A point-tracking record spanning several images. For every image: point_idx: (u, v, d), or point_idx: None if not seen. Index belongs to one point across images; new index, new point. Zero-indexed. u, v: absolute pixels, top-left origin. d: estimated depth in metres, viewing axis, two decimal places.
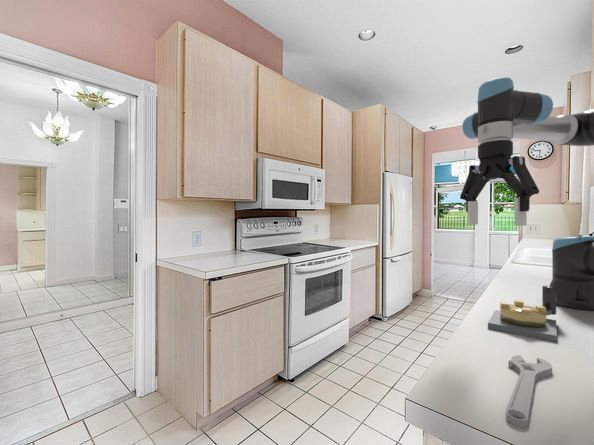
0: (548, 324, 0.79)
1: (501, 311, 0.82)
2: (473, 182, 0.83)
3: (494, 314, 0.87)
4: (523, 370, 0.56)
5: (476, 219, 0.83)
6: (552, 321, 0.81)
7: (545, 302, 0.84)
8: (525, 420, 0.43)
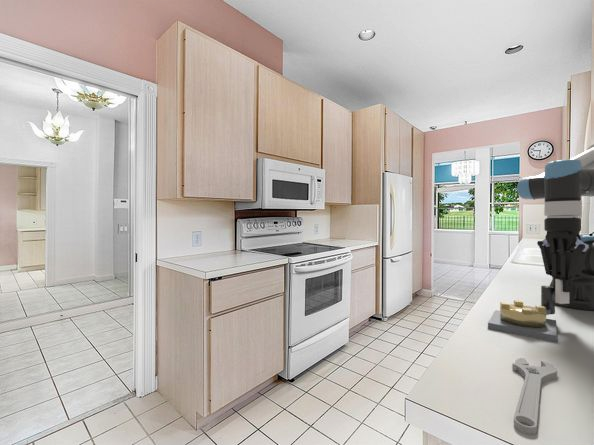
0: (548, 324, 0.79)
1: (502, 311, 0.82)
2: None
3: (494, 314, 0.87)
4: (528, 374, 0.55)
5: None
6: (552, 321, 0.81)
7: (544, 302, 0.84)
8: (534, 427, 0.41)
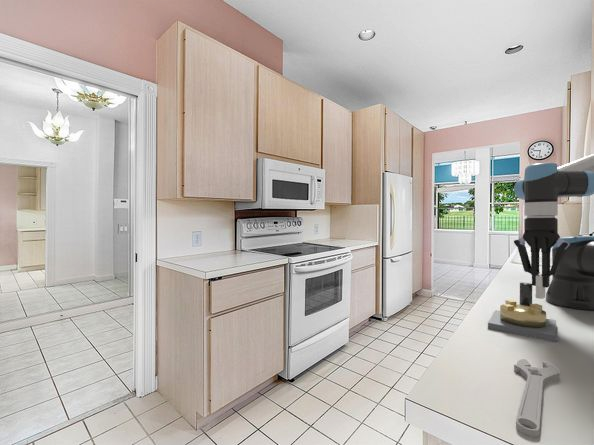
0: (548, 324, 0.79)
1: (509, 314, 0.79)
2: None
3: (494, 314, 0.87)
4: (530, 375, 0.54)
5: None
6: (552, 321, 0.81)
7: (525, 298, 0.88)
8: (537, 430, 0.41)
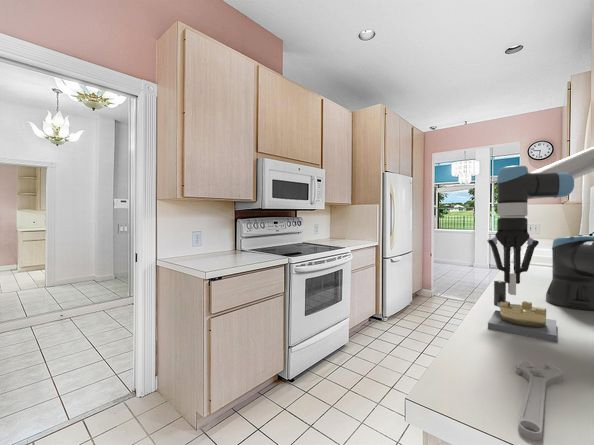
0: (548, 324, 0.79)
1: (522, 317, 0.77)
2: (526, 253, 0.90)
3: (494, 314, 0.87)
4: (532, 377, 0.54)
5: None
6: (552, 321, 0.81)
7: (502, 296, 0.90)
8: (539, 433, 0.40)
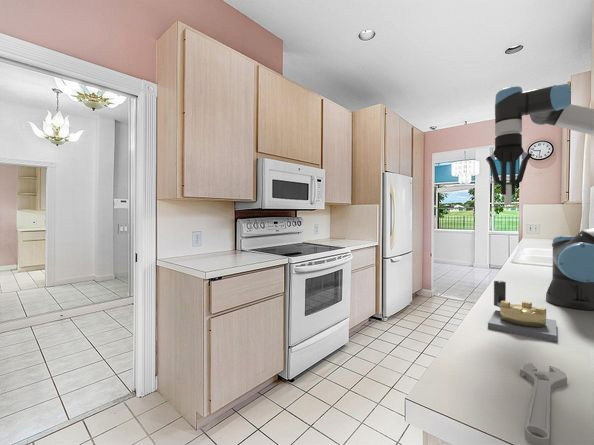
0: (548, 324, 0.79)
1: (522, 317, 0.77)
2: (521, 166, 1.00)
3: (494, 314, 0.87)
4: (537, 380, 0.53)
5: None
6: (552, 321, 0.81)
7: (502, 296, 0.90)
8: (547, 438, 0.39)
